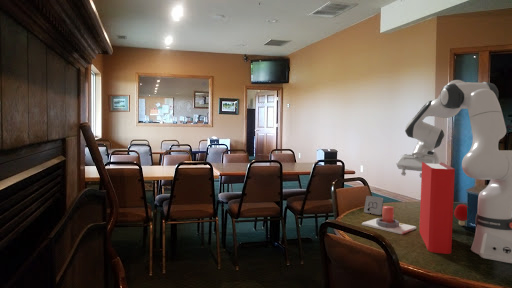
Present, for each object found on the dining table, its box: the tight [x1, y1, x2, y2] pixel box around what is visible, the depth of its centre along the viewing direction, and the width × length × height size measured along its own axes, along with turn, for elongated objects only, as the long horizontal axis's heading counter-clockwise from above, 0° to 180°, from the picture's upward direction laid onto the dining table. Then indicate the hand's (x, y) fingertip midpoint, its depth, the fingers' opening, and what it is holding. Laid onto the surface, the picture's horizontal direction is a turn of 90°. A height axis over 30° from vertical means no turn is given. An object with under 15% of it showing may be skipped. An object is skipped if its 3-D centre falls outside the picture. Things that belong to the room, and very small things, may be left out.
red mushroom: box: [453, 203, 468, 227], centre depth 180 cm, size 9×7×10 cm
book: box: [419, 161, 456, 255], centre depth 154 cm, size 27×8×32 cm, turn 163°
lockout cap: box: [381, 205, 395, 223], centre depth 176 cm, size 5×5×8 cm
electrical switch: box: [363, 195, 384, 216], centre depth 204 cm, size 9×5×9 cm, turn 49°
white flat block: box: [361, 217, 417, 235], centre depth 177 cm, size 20×14×3 cm
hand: (411, 175), depth 191 cm, fingers open, 8 cm apart
